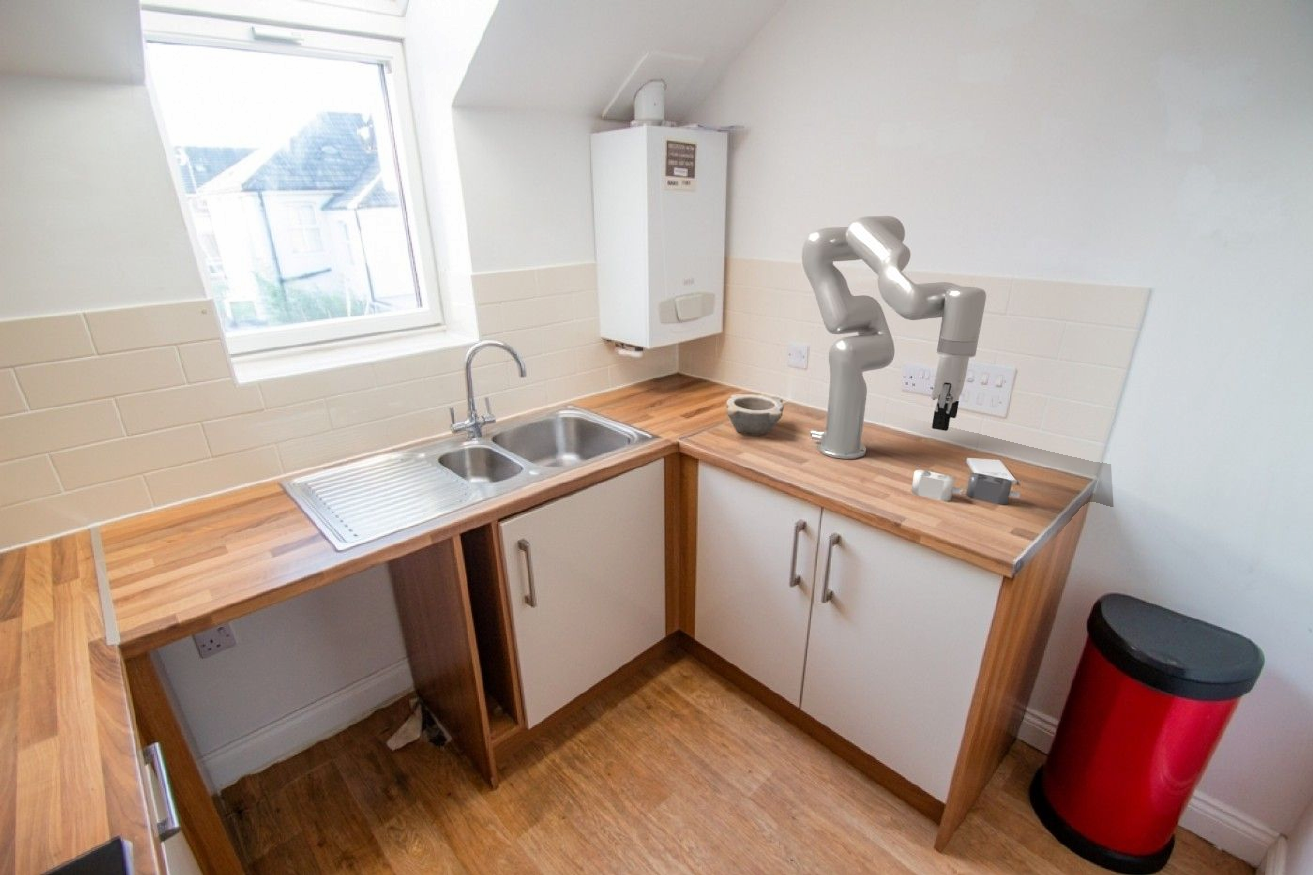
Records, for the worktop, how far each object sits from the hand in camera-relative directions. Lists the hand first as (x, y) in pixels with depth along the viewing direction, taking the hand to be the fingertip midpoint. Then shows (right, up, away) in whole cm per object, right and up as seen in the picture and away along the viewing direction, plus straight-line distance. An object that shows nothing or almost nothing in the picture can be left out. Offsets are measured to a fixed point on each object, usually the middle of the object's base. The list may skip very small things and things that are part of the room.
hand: (944, 422), depth 134 cm
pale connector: (0, -17, +7) cm, 18 cm away
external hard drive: (+20, -13, +18) cm, 30 cm away
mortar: (-35, -2, +47) cm, 58 cm away
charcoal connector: (+12, -17, +5) cm, 22 cm away
